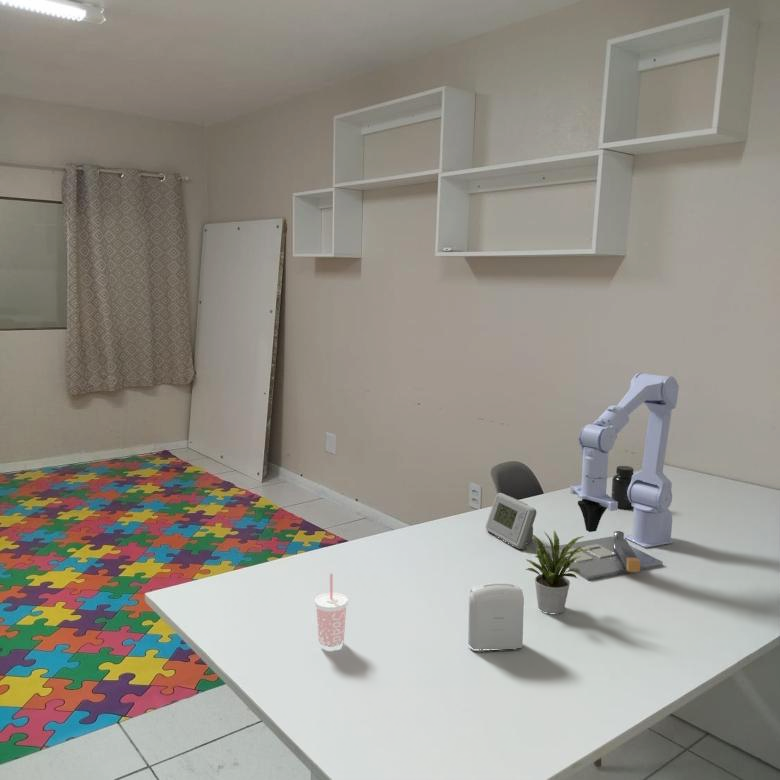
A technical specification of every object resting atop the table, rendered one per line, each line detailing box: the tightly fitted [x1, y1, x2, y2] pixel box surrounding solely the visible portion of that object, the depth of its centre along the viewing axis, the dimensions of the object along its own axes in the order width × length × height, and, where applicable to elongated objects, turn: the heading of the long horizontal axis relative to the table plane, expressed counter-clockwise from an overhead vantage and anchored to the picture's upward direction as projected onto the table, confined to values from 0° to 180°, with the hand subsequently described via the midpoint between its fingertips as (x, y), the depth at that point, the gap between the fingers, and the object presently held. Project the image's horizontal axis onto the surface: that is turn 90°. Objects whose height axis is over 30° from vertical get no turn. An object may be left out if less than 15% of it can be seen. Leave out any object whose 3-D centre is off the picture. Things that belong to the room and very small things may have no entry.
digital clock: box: [485, 492, 537, 550], centre depth 186 cm, size 16×9×11 cm, turn 15°
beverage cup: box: [314, 573, 349, 647], centre depth 131 cm, size 6×6×14 cm
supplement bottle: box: [610, 465, 635, 510], centre depth 213 cm, size 7×7×12 cm
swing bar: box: [615, 538, 641, 573], centre depth 169 cm, size 14×3×3 cm, turn 175°
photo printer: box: [467, 582, 525, 650], centre depth 131 cm, size 10×4×12 cm, turn 96°
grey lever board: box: [545, 530, 664, 581], centre depth 174 cm, size 22×18×5 cm
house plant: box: [524, 530, 591, 615], centre depth 146 cm, size 14×14×16 cm
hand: (591, 530), depth 169 cm, fingers closed
